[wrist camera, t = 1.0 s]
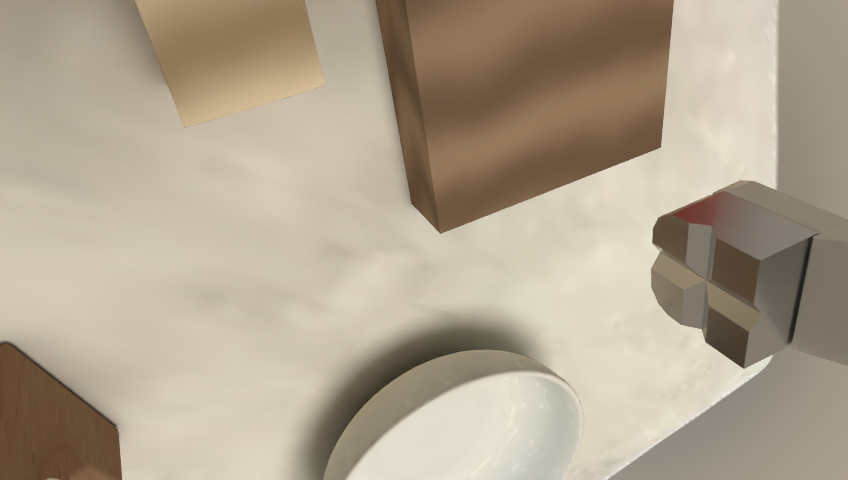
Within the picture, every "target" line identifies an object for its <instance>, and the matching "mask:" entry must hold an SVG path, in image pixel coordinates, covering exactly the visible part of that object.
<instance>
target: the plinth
mask: <svg viewBox="0 0 848 480" xmlns="http://www.w3.org/2000/svg"><path fill="white" fill-rule="evenodd" d="M673 3H674V0H376V4H377V10H378V15H379V21H380V27H381V32H382V38H383V44H384V49H385V55H386V61H387V66H388V72H389V77H390V83H391V89H392V94H393V100H394V106H395V111H396V117H397V123H398V128H399V134H400V140H401V145H402V151H403V157H404V162H405V168H406V174H407V179H408V185H409V191H410V196H411V202H412V204H413V205H414V207H415V208H416V209H417V210H418V211H419V212H420V213H421V214H422V215H423V216H424V217H425V218H426V219H427V220H428V221H429V222H430V223H431V224H432V225H433V226H434V228H435V229H436V230H437V231H438V232H439V233H440V234H441V233H444V232H446V231H449V230H451V229H454V228H456V227H459V226H462V225H464V224H467V223H469V222H472V221H474V220H477V219H479V218H482V217H485V216H487V215H490V214H492V213H495V212H497V211H500V210H502V209H505V208H508V207H510V206H513V205H515V204H518V203H520V202H523V201H525V200H528V199H531V198H533V197H536V196H538V195H541V194H543V193H546V192H548V191H551V190H553V189H556V188H559V187H561V186H564V185H566V184H569V183H571V182H574V181H576V180H579V179H582V178H584V177H587V176H589V175H592V174H594V173H597V172H599V171H602V170H605V169H607V168H610V167H612V166H615V165H617V164H620V163H622V162H625V161H628V160H630V159H633V158H635V157H638V156H640V155H643V154H645V153H648V152H651V151H653V150H656V149H658V148H661V139H662V128H663V117H664V105H665V94H666V83H667V71H668V60H669V49H670V37H671V26H672V15H673Z"/></svg>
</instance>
